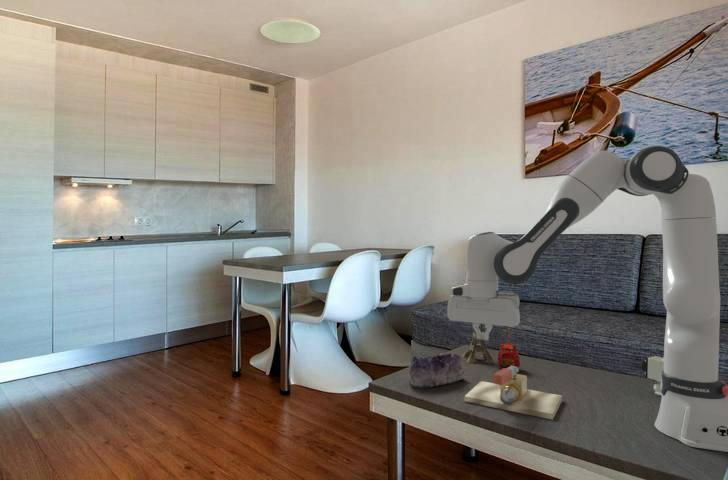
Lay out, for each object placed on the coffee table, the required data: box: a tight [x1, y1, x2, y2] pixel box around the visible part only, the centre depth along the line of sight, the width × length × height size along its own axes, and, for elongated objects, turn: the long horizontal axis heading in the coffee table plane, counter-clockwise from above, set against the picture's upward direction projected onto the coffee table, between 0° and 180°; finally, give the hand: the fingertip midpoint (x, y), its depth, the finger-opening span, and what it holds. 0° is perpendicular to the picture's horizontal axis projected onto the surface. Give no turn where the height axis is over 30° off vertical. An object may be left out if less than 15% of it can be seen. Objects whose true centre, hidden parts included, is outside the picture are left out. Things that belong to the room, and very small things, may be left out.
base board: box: [463, 380, 563, 421], centre depth 135 cm, size 24×16×2 cm, turn 59°
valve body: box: [500, 373, 528, 405], centre depth 135 cm, size 6×16×6 cm, turn 149°
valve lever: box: [493, 366, 520, 385], centre depth 131 cm, size 13×3×3 cm, turn 142°
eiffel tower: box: [460, 324, 496, 365], centre depth 178 cm, size 11×11×25 cm
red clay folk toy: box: [497, 326, 521, 370], centre depth 166 cm, size 8×7×15 cm
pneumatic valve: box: [640, 355, 664, 397], centre depth 141 cm, size 6×12×12 cm, turn 32°
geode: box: [408, 353, 465, 389], centre depth 152 cm, size 20×12×10 cm, turn 127°
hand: (482, 339), depth 130 cm, fingers closed
